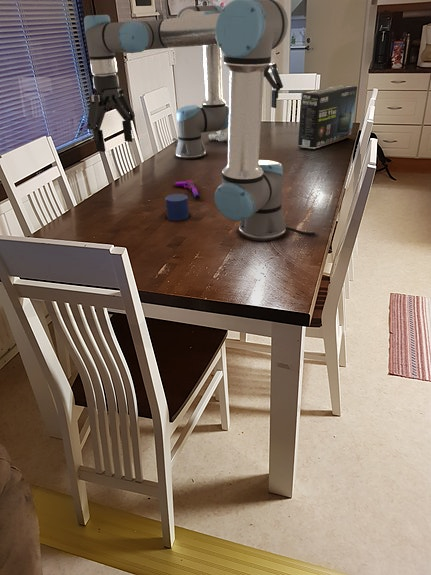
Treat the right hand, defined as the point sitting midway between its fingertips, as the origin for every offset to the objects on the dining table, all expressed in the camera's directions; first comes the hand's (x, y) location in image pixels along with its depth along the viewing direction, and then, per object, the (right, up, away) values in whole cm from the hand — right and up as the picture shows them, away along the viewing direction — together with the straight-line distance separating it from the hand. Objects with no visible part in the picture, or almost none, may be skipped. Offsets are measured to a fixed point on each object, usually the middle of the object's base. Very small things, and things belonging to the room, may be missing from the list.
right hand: (115, 146), depth 149 cm
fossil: (+37, +38, +111) cm, 123 cm away
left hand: (+50, +26, +36) cm, 67 cm away
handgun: (+21, -7, +38) cm, 44 cm away
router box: (+91, +31, +96) cm, 136 cm away
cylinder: (+19, -21, +15) cm, 32 cm away
